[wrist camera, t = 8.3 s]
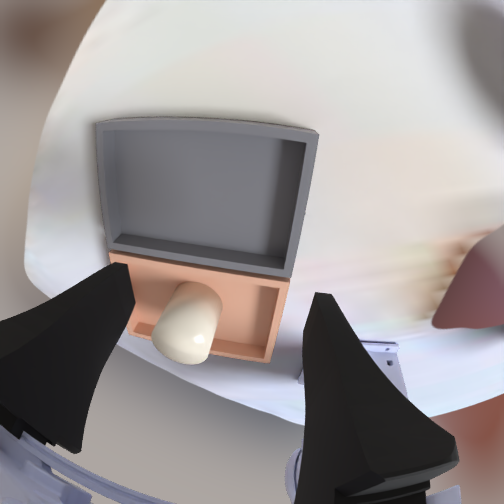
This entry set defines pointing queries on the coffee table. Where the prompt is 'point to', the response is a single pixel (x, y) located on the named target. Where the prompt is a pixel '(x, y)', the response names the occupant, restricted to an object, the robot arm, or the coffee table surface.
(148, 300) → the tray
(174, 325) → the beige rounded cylinder
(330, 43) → the coffee table surface
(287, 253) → the tray
